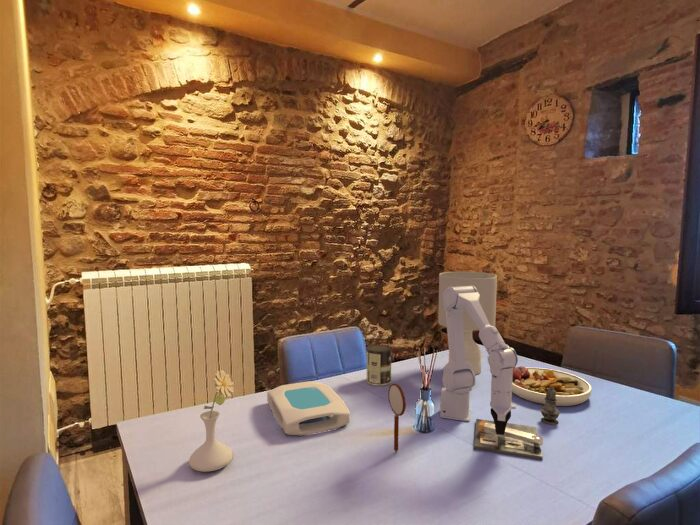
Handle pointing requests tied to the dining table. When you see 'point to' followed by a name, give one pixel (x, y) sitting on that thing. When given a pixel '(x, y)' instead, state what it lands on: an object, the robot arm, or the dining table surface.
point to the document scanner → (307, 408)
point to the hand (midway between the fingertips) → (499, 434)
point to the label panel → (507, 442)
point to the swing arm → (511, 433)
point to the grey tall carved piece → (550, 408)
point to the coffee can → (379, 365)
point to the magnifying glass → (396, 408)
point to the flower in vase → (213, 432)
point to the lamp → (487, 292)
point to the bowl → (538, 380)
